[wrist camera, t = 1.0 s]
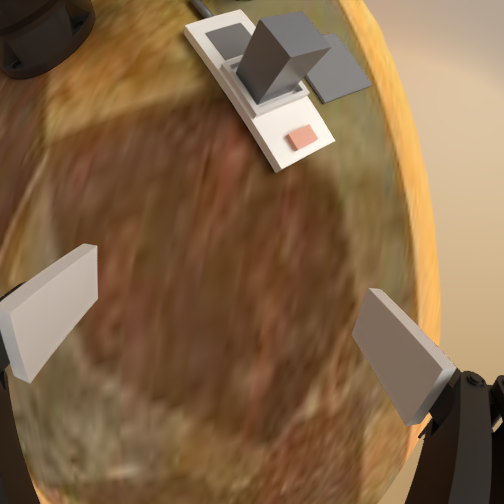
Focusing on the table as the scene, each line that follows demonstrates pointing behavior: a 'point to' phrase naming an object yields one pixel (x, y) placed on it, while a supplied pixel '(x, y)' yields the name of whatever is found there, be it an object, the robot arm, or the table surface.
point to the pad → (336, 72)
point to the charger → (280, 55)
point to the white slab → (254, 116)
